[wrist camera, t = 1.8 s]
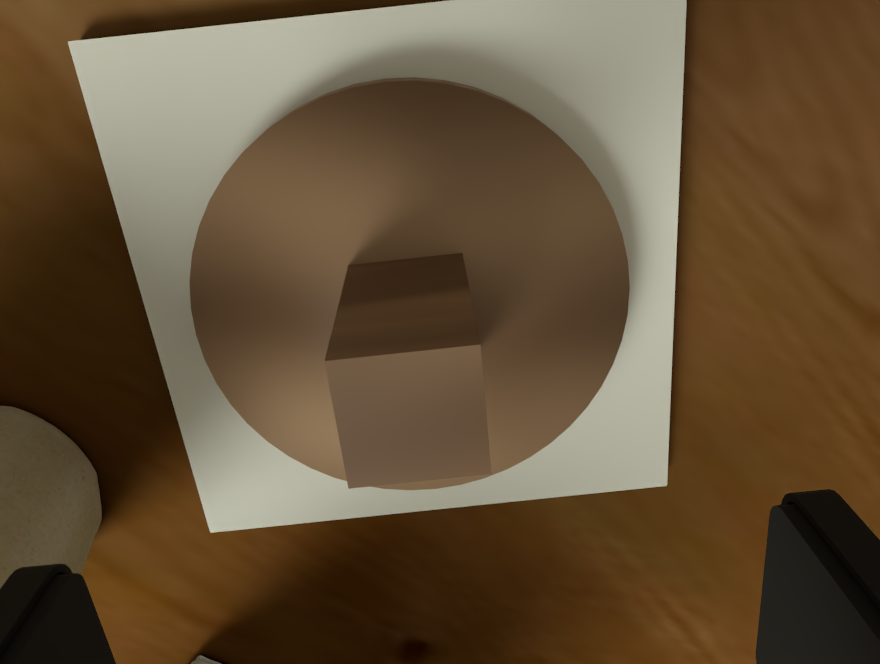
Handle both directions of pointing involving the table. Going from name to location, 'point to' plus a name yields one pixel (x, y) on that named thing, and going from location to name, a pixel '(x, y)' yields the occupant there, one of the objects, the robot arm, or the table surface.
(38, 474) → the flower pot
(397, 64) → the mat
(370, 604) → the table surface
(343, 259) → the lid
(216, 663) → the tea box
